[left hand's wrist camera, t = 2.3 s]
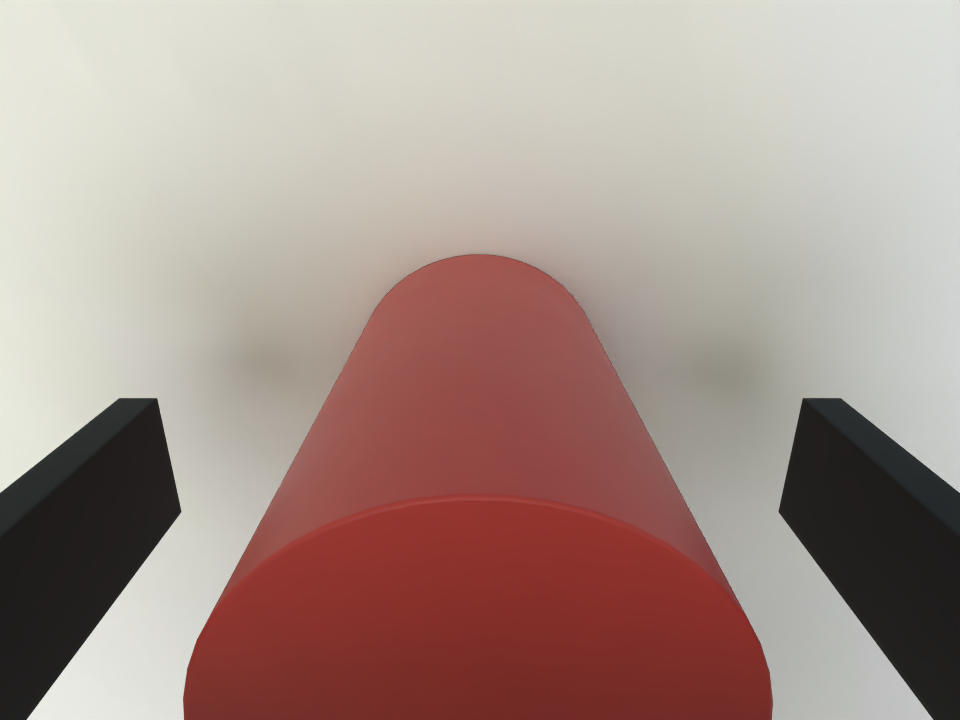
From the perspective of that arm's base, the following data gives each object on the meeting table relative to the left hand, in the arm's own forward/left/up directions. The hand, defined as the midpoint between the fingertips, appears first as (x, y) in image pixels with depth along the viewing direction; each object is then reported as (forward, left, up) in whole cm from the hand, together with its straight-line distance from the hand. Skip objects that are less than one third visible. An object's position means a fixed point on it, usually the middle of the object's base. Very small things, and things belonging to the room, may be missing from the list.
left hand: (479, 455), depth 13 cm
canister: (0, 0, -5) cm, 5 cm away
